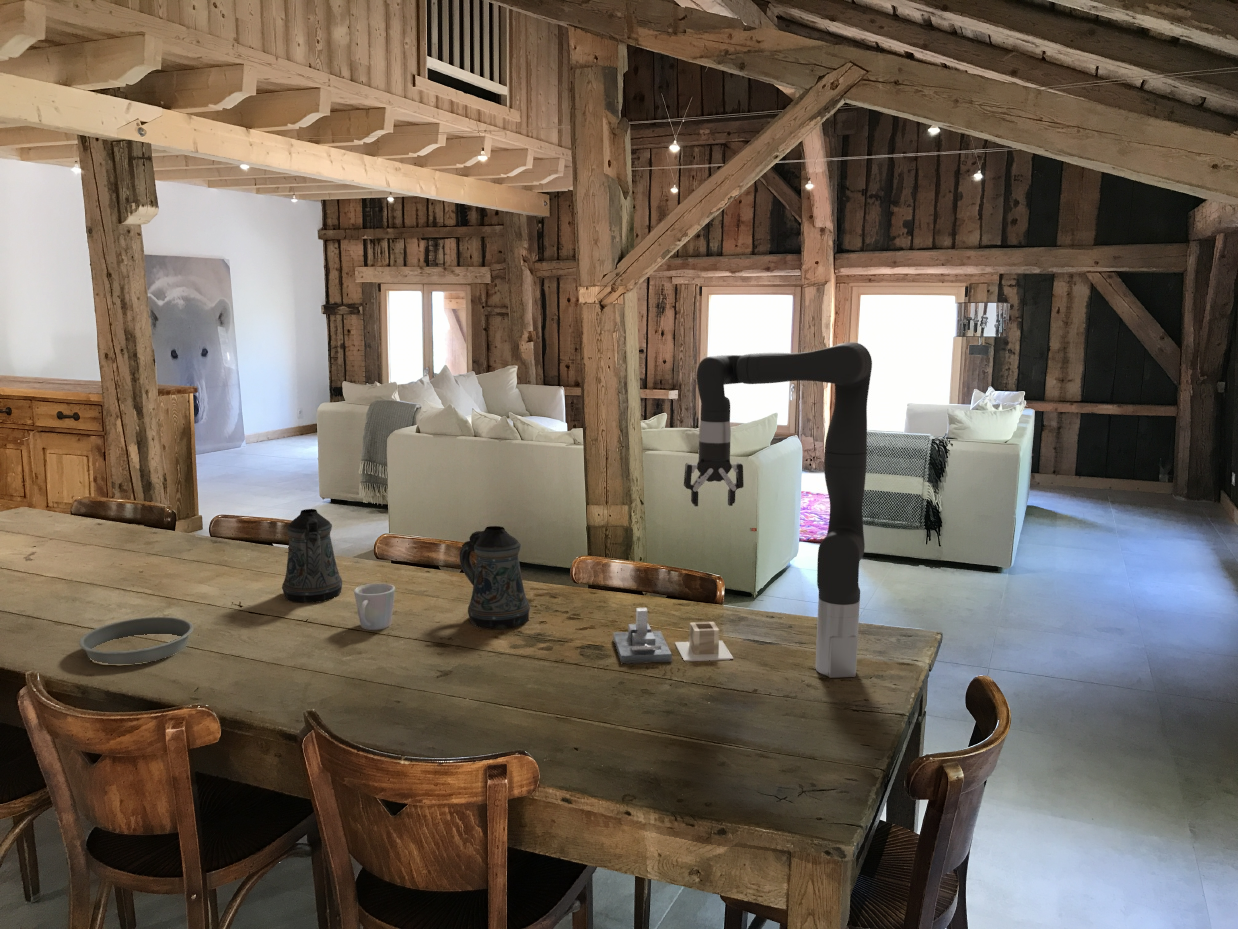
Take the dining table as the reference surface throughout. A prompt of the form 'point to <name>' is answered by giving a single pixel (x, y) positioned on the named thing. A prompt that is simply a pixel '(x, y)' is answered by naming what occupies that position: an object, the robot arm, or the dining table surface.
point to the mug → (375, 605)
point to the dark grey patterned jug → (311, 560)
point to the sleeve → (704, 638)
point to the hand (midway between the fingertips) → (713, 505)
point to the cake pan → (137, 628)
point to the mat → (689, 656)
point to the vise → (641, 642)
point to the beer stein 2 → (495, 580)
